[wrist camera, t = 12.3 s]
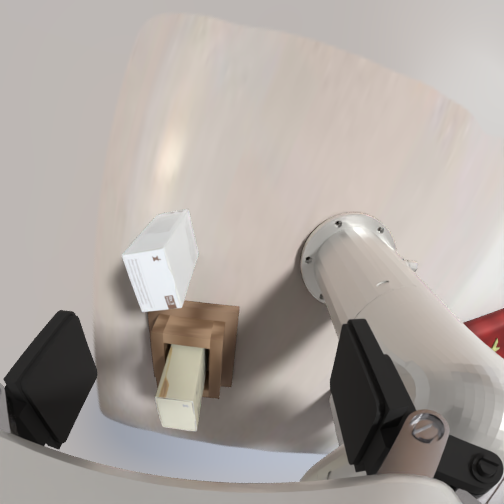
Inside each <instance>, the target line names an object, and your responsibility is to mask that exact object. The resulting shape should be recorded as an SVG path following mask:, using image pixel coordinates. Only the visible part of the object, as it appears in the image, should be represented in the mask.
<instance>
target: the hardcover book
mask: <svg viewBox="0 0 504 504" xmlns="http://www.w3.org/2000/svg"><path fill="white" fill-rule="evenodd" d="M463 324H464V325H465V326H466V327H467V328H468V329H469V330H470V331H472V332H473V333H474V334H475V335H476V336H477V337H478V338H479V339H480V340H481V341H483V342H484V343H485V344H486V345H487V346H489V347H490V348H491V349H492V350H493V351H495V352H496V353H497V354H498V355H499V356H501V357H502V358H503V359H504V308H503V309H500V310H498V311H495V312H492V313H490V314H487V315H484V316H481V317H479V318H476V319H473V320H470V321H467V322H464V323H463Z"/></svg>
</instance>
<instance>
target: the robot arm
mask: <svg viewBox="0 0 504 504" xmlns="http://www.w3.org/2000/svg"><path fill="white" fill-rule="evenodd" d="M336 221H338V224H335V222H336ZM379 227H380V228H379ZM378 228H379V229H378ZM306 257H309V258H308V259H306ZM417 267H418V264H417V262H416V261H410V260H407V261H406V260H404V259H403V258H402V257H401V256H400V255H399V254H398V253H397V247H396V243H395V240H394V238H393V236H392V233H391V232H390V231H389V229H388V228H387V227H386V226H385V225H384V224H383V223H382V222H381V221H379V220H378V219H376V218H374V217H373V216H370V215H367V214H364V213H358V212H351V213H343V214H339V215H336V216H334V217H332V218H329V219H327V220H326V221H325V222H323V223H322V224H320V225H319V226H318V227H317V228H316V229H315V230H314V231H313V232H312V233H311V235H310V236H309V238H308V239H307V241H306V243H305V245H304V248H303V250H302V255H301V261H300V269H301V274H302V278H303V281H304V284H305V286H306V288H307V289H308V291H309V292H310V293H311V294H312V296H313V297H314V298H316V299H317V300H318V301H320V302H322V303H324V304H326V306H327V309H328V311H329V314H330V317H331V320H332V322H333V325H334V328H335V331H336V333H337V336H338V339H339V343H338V347H337V352H336V357H335V361H334V366H333V370H332V374H331V379H330V389H331V393H332V397H333V401H334V405H335V409H336V413H337V417H338V421H339V425H340V429H341V433H342V438H343V442H344V444H342V445H341V446H339V447H338V448H337V449H335V450H334V451H332V452H331V453H330V454H328V455H327V456H326V457H324V458H323V459H321V460H320V461H319V462H317V463H316V464H315V465H314V466H312V467H311V468H310V469H309V470H308V471H307V472H306V473H305V475H304V476H303V477H302V479H301V480H300V482H289V483H224V482H209V481H197V480H187V479H178V478H170V477H163V476H157V475H151V474H145V473H140V472H134V471H129V470H124V469H120V468H116V467H111V466H107V465H103V464H99V463H95V462H91V461H88V460H84V459H81V458H78V457H74V456H71V455H68V454H65V453H61V452H59V451H56V450H53V449H50V448H47V447H45V446H44V445H45V443H46V444H47V445H48V446H51V447H54V448H56V449H60V447H61V445H62V443H64V442H66V440H67V438H68V436H69V433H70V431H71V429H72V427H73V425H74V423H75V420H76V419H77V417H78V414H79V412H80V410H81V408H82V406H83V404H84V402H85V400H86V398H87V396H88V394H89V392H90V390H91V388H92V386H93V384H94V382H95V380H96V378H97V369H96V366H95V363H94V361H93V358H92V355H91V353H90V350H89V347H88V344H87V342H86V339H85V335H84V332H83V329H82V326H81V323H80V320H79V318H78V316H76V315H75V313H74V312H72V311H63V310H60V311H58V312H57V313H56V314H55V315H54V317H53V318H52V319H51V320H50V321H49V322H48V324H47V325H46V326H45V327H44V328H43V330H42V331H41V332H40V333H39V334H38V336H37V337H36V338H35V339H34V341H33V342H32V343H31V344H30V345H29V347H28V348H27V349H26V351H25V352H24V353H23V354H22V355H21V357H20V358H19V360H18V361H17V362H16V363H15V364H14V366H13V367H12V368H11V370H10V371H9V372H8V374H7V375H6V377H5V378H4V381H5V383H6V386H5V388H4V387H3V385H2V384H0V504H504V359H503V358H502V357H501V356H499V355H498V354H497V353H496V352H495V351H493V350H492V349H491V348H490V347H489V346H487V345H486V344H485V343H484V342H483V341H481V340H480V339H479V338H478V337H477V336H476V335H475V334H474V333H473V332H472V331H470V330H469V329H468V328H467V327H466V326H465V325H464V324H463V323H462V322H461V321H460V320H459V319H458V318H457V317H456V316H455V315H454V314H453V312H452V311H451V310H450V309H449V308H448V307H447V306H446V305H445V304H444V303H443V302H442V301H441V300H440V298H439V297H438V296H437V295H436V294H435V293H434V292H433V291H432V290H431V289H430V288H429V287H428V286H427V285H426V284H425V283H424V282H423V281H422V280H421V279H420V278H419V277H418V276H417V274H416V273H415V271H416V270H417Z"/></svg>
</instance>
